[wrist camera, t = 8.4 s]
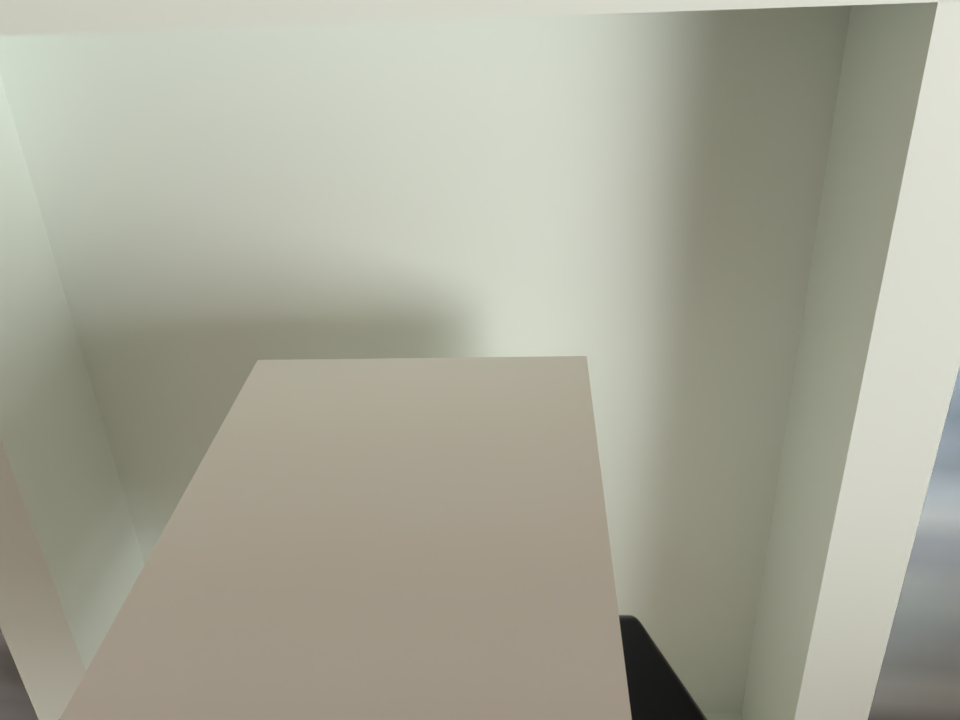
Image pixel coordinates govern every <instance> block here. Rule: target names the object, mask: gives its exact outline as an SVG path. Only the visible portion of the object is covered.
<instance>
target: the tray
mask: <svg viewBox="0 0 960 720" xmlns="http://www.w3.org/2000/svg"><path fill="white" fill-rule="evenodd" d="M547 356H587V363H588V371H589V379H590V387H591V395H592V404H593V412H594V420H595V428H596V436H597V444H598V452H599V460H600V468H601V476H602V484H603V492H604V500H605V508H606V516H607V524H608V532H609V540H610V548H611V556H612V564H613V572H614V580H615V588H616V596H617V604H618V612H619V615H633V616H634V617H636V618H637V619H638V620H639V621H640V622H641V624H642V625H643V626H644V628H645V629H646V631H647V632H648V634H649V635H650V637H651V638H652V640H653V641H654V642H655V644H656V645H657V647H658V648H659V650H660V651H661V653H662V654H663V656H664V657H665V658H666V660H667V661H668V663H669V664H670V666H671V667H672V669H673V670H674V672H675V673H676V674H677V676H678V677H679V679H680V680H681V682H682V683H683V685H684V686H685V688H686V689H687V690H688V692H689V693H690V695H691V696H692V698H693V699H694V701H695V702H696V704H697V705H698V706H699V708H700V709H701V711H702V712H703V714H704V715H705V717H706V718H707V720H868V716H869V712H870V709H871V705H872V701H873V697H874V693H875V689H876V686H877V682H878V678H879V674H880V670H881V666H882V663H883V659H884V655H885V651H886V647H887V643H888V639H889V636H890V632H891V628H892V624H893V620H894V616H895V613H896V609H897V605H898V601H899V597H900V593H901V589H902V586H903V582H904V578H905V574H906V570H907V566H908V563H909V559H910V555H911V551H912V547H913V543H914V539H915V536H916V532H917V528H918V524H919V520H920V516H921V513H922V509H923V505H924V501H925V497H926V493H927V489H928V486H929V482H930V478H931V474H932V470H933V466H934V463H935V459H936V455H937V451H938V447H939V443H940V439H941V436H942V432H943V428H944V424H945V420H946V416H947V413H948V409H949V405H950V401H951V397H952V393H953V389H954V386H955V382H956V378H957V374H958V370H959V366H960V0H0V629H1V631H2V633H3V636H4V638H5V641H6V643H7V645H8V648H9V650H10V652H11V655H12V657H13V660H14V662H15V664H16V667H17V669H18V671H19V674H20V676H21V679H22V681H23V683H24V686H25V688H26V691H27V693H28V695H29V698H30V700H31V702H32V705H33V707H34V710H35V712H36V714H37V717H38V719H39V720H59V719H60V718H61V716H62V714H63V712H64V710H65V709H66V707H67V705H68V703H69V701H70V699H71V698H72V696H73V694H74V692H75V690H76V689H77V687H78V685H79V683H80V681H81V680H82V678H83V676H84V674H85V672H86V670H87V669H88V667H89V665H90V663H91V661H92V660H93V658H94V656H95V654H96V652H97V650H98V649H99V647H100V645H101V643H102V641H103V640H104V638H105V636H106V634H107V632H108V631H109V629H110V627H111V625H112V623H113V621H114V620H115V618H116V616H117V614H118V612H119V611H120V609H121V607H122V605H123V603H124V601H125V600H126V598H127V596H128V594H129V592H130V591H131V589H132V587H133V585H134V583H135V582H136V580H137V578H138V576H139V574H140V572H141V571H142V569H143V567H144V565H145V563H146V562H147V560H148V558H149V556H150V554H151V552H152V551H153V549H154V547H155V545H156V543H157V542H158V540H159V538H160V536H161V534H162V532H163V531H164V529H165V527H166V525H167V523H168V522H169V520H170V518H171V516H172V514H173V513H174V511H175V509H176V507H177V505H178V503H179V502H180V500H181V498H182V496H183V494H184V493H185V491H186V489H187V487H188V485H189V483H190V482H191V480H192V478H193V476H194V474H195V473H196V471H197V469H198V467H199V465H200V464H201V462H202V460H203V458H204V456H205V454H206V453H207V451H208V449H209V447H210V445H211V444H212V442H213V440H214V438H215V436H216V434H217V433H218V431H219V429H220V427H221V425H222V424H223V422H224V420H225V418H226V416H227V414H228V413H229V411H230V409H231V407H232V405H233V404H234V402H235V400H236V398H237V396H238V395H239V393H240V391H241V389H242V387H243V385H244V384H245V382H246V380H247V378H248V376H249V375H250V373H251V371H252V369H253V367H254V365H255V364H256V362H257V360H300V359H383V358H465V357H547Z"/></svg>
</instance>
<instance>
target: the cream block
mask: <svg viewBox="0 0 960 720" xmlns="http://www.w3.org/2000/svg"><path fill="white" fill-rule="evenodd" d="M59 720H632V717H631V709H630V701H629V693H628V685H627V677H626V669H625V661H624V653H623V645H622V637H621V629H620V621H619V612H618V604H617V596H616V588H615V580H614V572H613V564H612V556H611V548H610V540H609V532H608V524H607V516H606V508H605V500H604V492H603V484H602V476H601V468H600V460H599V452H598V444H597V436H596V428H595V420H594V412H593V404H592V395H591V387H590V379H589V371H588V363H587V356H547V357H465V358H383V359H300V360H257V362H256V364H255V365H254V367H253V369H252V371H251V373H250V375H249V376H248V378H247V380H246V382H245V384H244V385H243V387H242V389H241V391H240V393H239V395H238V396H237V398H236V400H235V402H234V404H233V405H232V407H231V409H230V411H229V413H228V414H227V416H226V418H225V420H224V422H223V424H222V425H221V427H220V429H219V431H218V433H217V434H216V436H215V438H214V440H213V442H212V444H211V445H210V447H209V449H208V451H207V453H206V454H205V456H204V458H203V460H202V462H201V464H200V465H199V467H198V469H197V471H196V473H195V474H194V476H193V478H192V480H191V482H190V483H189V485H188V487H187V489H186V491H185V493H184V494H183V496H182V498H181V500H180V502H179V503H178V505H177V507H176V509H175V511H174V513H173V514H172V516H171V518H170V520H169V522H168V523H167V525H166V527H165V529H164V531H163V532H162V534H161V536H160V538H159V540H158V542H157V543H156V545H155V547H154V549H153V551H152V552H151V554H150V556H149V558H148V560H147V562H146V563H145V565H144V567H143V569H142V571H141V572H140V574H139V576H138V578H137V580H136V582H135V583H134V585H133V587H132V589H131V591H130V592H129V594H128V596H127V598H126V600H125V601H124V603H123V605H122V607H121V609H120V611H119V612H118V614H117V616H116V618H115V620H114V621H113V623H112V625H111V627H110V629H109V631H108V632H107V634H106V636H105V638H104V640H103V641H102V643H101V645H100V647H99V649H98V650H97V652H96V654H95V656H94V658H93V660H92V661H91V663H90V665H89V667H88V669H87V670H86V672H85V674H84V676H83V678H82V680H81V681H80V683H79V685H78V687H77V689H76V690H75V692H74V694H73V696H72V698H71V699H70V701H69V703H68V705H67V707H66V709H65V710H64V712H63V714H62V716H61V718H60V719H59Z"/></svg>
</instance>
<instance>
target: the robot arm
mask: <svg viewBox="0 0 960 720" xmlns="http://www.w3.org/2000/svg"><path fill="white" fill-rule="evenodd" d="M619 621H620V629H621V637H622V645H623V653H624V661H625V669H626V677H627V685H628V693H629V701H630V709H631V717H632V720H707V718H706V717H705V715H704V714H703V712H702V711H701V709H700V708H699V706H698V705H697V704H696V702H695V701H694V699H693V698H692V696H691V695H690V693H689V692H688V690H687V689H686V688H685V686H684V685H683V683H682V682H681V680H680V679H679V677H678V676H677V674H676V673H675V672H674V670H673V669H672V667H671V666H670V664H669V663H668V661H667V660H666V658H665V657H664V656H663V654H662V653H661V651H660V650H659V648H658V647H657V645H656V644H655V642H654V641H653V640H652V638H651V637H650V635H649V634H648V632H647V631H646V629H645V628H644V626H643V625H642V624H641V622H640V621H639V620H638V619H637V618H636V617H634V616H633V615H619Z"/></svg>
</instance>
